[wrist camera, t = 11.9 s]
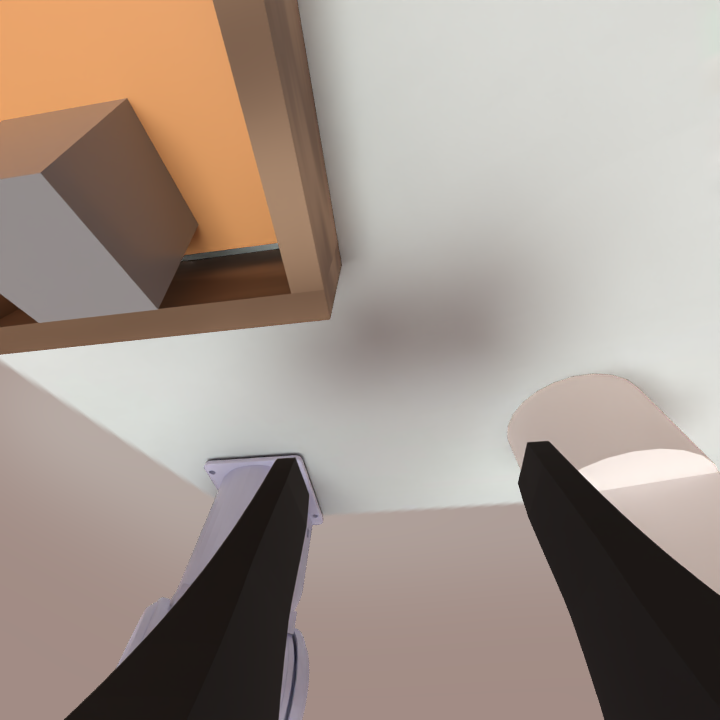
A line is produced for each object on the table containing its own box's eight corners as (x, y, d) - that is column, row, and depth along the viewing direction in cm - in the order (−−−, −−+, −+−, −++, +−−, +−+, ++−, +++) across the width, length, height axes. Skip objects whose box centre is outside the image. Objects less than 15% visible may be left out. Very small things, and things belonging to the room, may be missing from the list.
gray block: (198, 224, 14) (157, 309, 11) (102, 237, 15) (38, 322, 12) (126, 98, 11) (40, 172, 8) (3, 120, 11) (-124, 199, 8)
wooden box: (341, 264, 18) (330, 319, 13) (77, 297, 19) (-24, 356, 14) (248, -290, 9) (100, -783, 4) (-219, -151, 11) (-736, -390, 6)
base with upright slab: (512, 473, 27) (592, 671, 17) (500, 393, 22) (600, 603, 13) (637, 451, 25) (805, 659, 16) (652, 357, 20) (910, 573, 11)
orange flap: (296, 227, 15) (294, 240, 15) (60, 259, 17) (49, 272, 16) (100, -394, 6) (72, -428, 5) (-423, -213, 7) (-494, -225, 6)
